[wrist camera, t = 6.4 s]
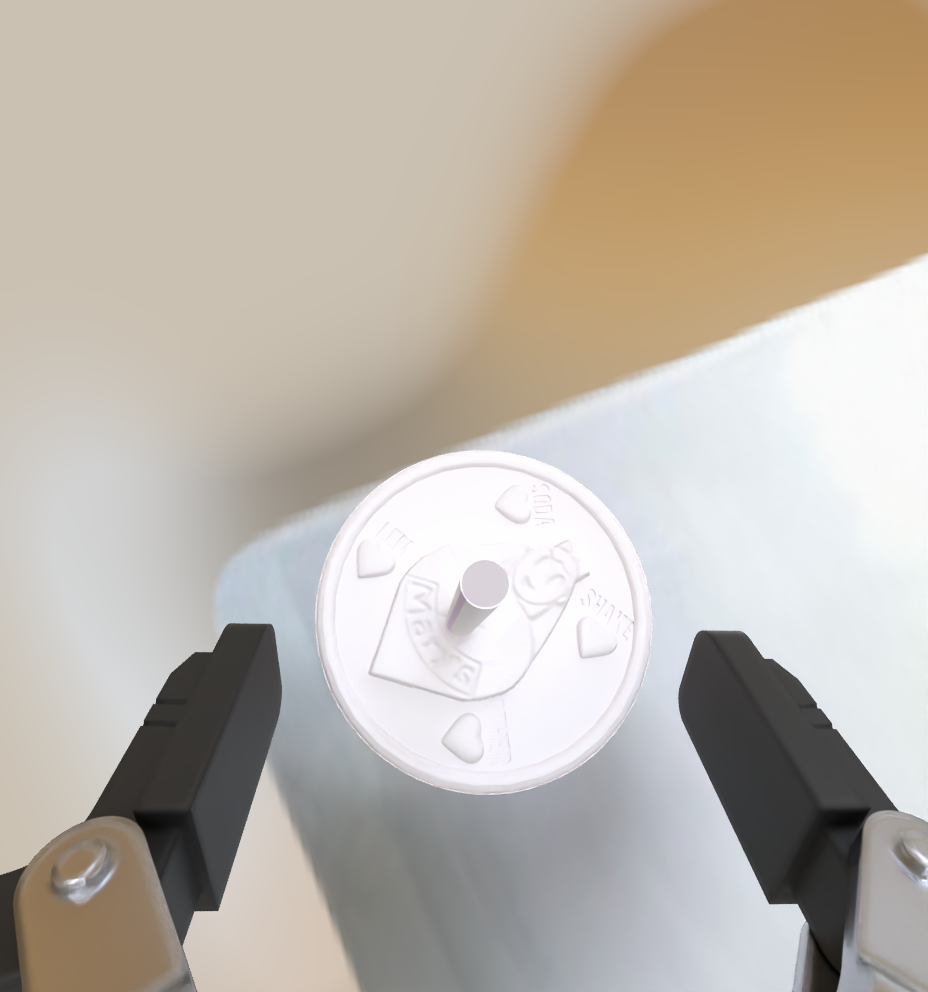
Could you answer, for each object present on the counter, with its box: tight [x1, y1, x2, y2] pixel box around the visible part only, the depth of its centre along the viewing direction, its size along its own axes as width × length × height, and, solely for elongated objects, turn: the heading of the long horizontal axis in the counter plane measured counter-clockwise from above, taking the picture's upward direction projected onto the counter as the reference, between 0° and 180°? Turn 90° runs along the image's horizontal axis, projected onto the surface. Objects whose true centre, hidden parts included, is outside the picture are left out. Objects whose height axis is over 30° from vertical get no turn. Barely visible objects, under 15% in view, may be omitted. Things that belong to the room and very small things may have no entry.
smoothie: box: [315, 450, 653, 795], centre depth 13 cm, size 6×6×14 cm
